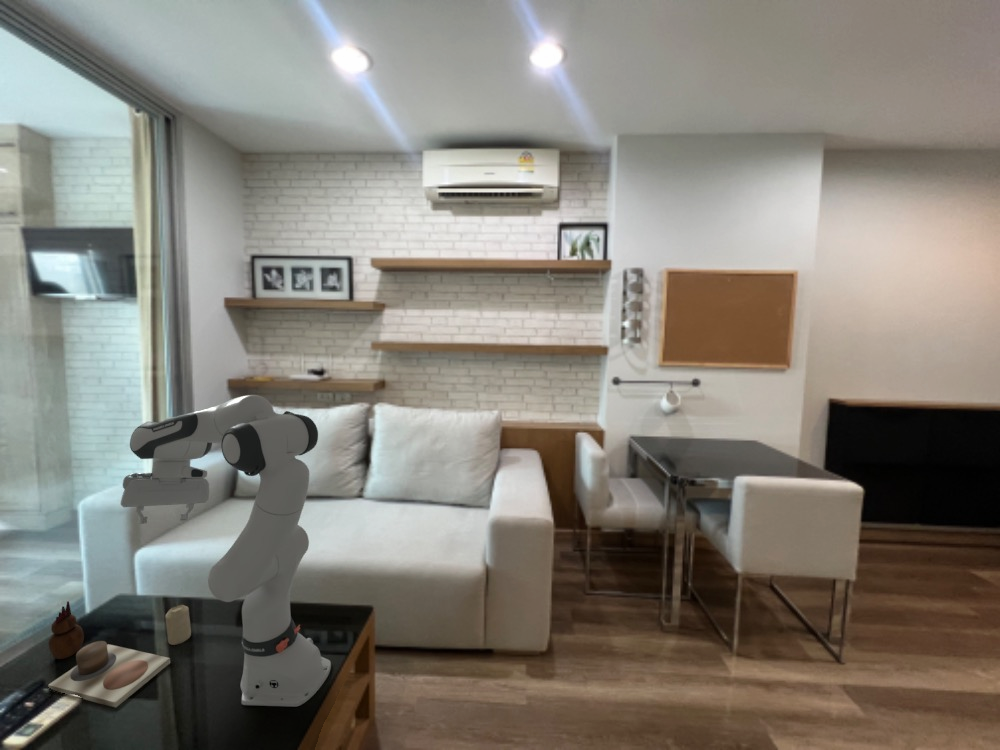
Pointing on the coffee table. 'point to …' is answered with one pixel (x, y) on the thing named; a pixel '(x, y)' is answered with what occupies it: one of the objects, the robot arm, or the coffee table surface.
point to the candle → (178, 624)
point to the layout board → (109, 673)
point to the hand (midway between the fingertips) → (163, 522)
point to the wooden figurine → (65, 635)
